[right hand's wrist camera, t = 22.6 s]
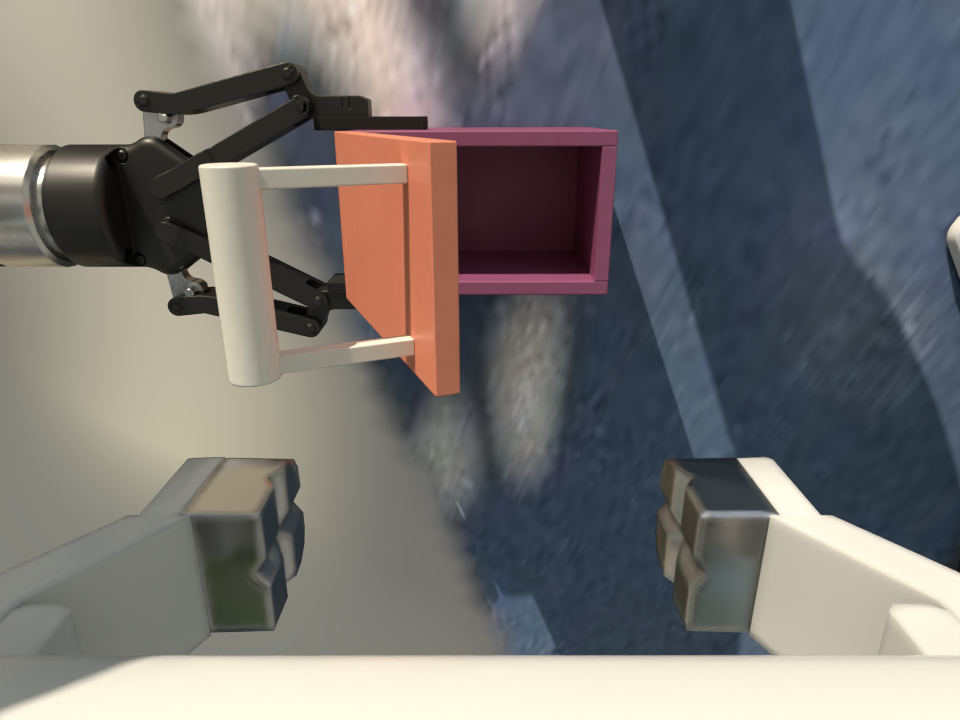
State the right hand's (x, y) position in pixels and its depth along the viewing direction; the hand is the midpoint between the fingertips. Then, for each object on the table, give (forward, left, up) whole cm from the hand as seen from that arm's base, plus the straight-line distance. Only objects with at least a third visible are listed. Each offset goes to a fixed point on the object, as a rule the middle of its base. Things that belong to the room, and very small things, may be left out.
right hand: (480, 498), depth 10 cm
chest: (0, 0, -40) cm, 40 cm away
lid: (+1, +4, -22) cm, 23 cm away
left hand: (+1, +3, -34) cm, 34 cm away
